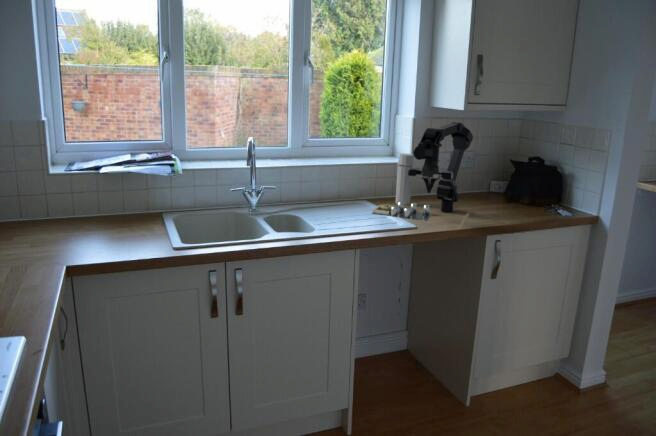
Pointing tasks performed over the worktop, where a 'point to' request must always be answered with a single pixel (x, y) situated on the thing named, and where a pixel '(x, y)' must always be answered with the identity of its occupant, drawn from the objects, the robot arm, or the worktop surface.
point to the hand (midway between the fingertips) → (428, 192)
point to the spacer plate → (413, 215)
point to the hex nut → (386, 207)
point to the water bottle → (404, 179)
